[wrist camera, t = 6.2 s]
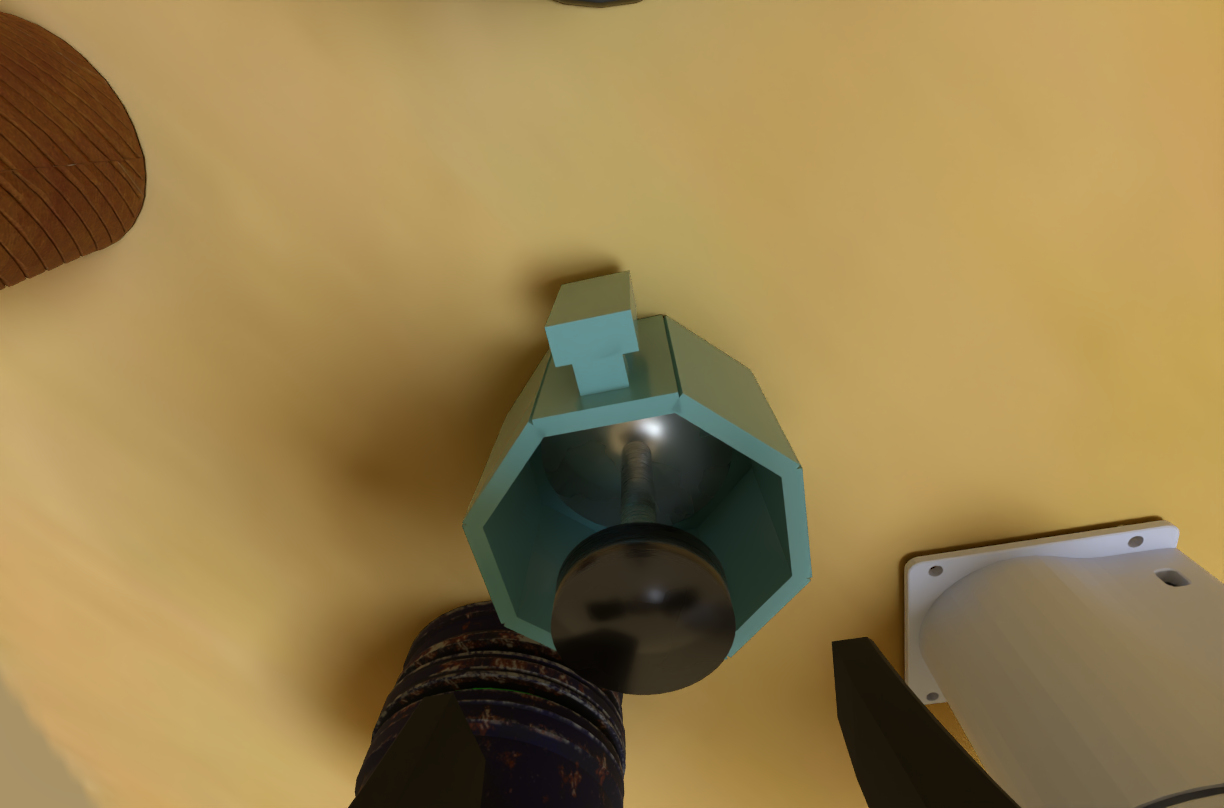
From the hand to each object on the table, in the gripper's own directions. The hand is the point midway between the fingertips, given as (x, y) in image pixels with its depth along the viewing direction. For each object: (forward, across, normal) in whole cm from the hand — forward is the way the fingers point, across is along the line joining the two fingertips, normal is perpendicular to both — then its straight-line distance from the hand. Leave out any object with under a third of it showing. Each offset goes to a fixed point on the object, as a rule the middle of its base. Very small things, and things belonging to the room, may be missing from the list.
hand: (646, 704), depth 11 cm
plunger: (+10, 0, 0) cm, 10 cm away
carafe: (+10, 0, 0) cm, 10 cm away
